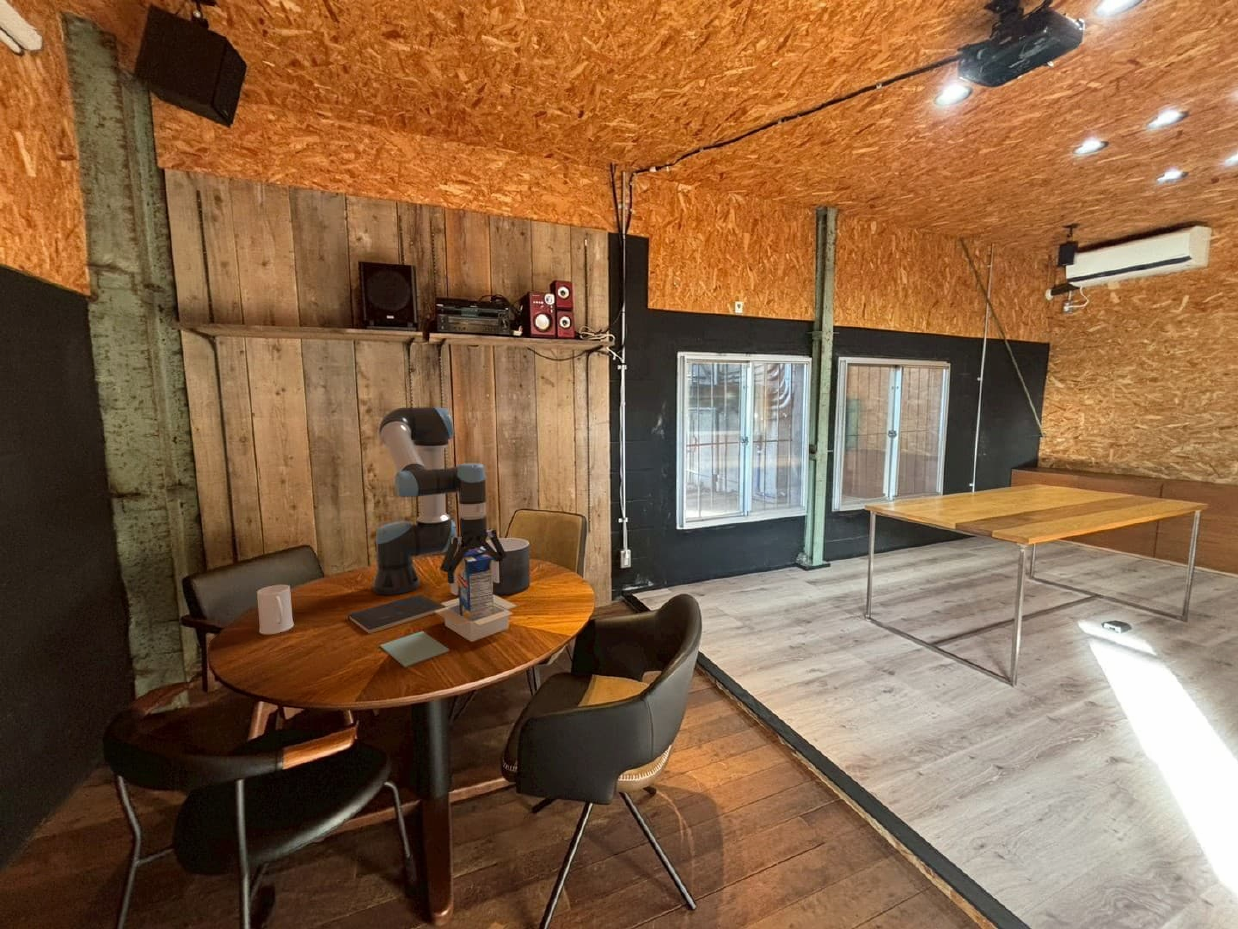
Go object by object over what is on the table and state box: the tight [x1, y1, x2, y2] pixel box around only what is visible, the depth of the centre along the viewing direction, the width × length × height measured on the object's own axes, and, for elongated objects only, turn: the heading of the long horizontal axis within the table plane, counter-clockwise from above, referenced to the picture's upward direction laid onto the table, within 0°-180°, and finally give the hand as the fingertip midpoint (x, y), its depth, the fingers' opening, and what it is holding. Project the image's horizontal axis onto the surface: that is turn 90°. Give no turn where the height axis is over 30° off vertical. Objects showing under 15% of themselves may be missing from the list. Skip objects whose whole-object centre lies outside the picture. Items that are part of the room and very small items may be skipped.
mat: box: [379, 630, 450, 668], centre depth 140 cm, size 16×12×1 cm
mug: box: [256, 584, 295, 635], centre depth 150 cm, size 12×8×12 cm
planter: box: [478, 537, 531, 596], centre depth 186 cm, size 18×18×16 cm
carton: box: [434, 595, 518, 643], centre depth 153 cm, size 22×19×6 cm
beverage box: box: [457, 548, 494, 622], centre depth 152 cm, size 7×11×22 cm, turn 33°
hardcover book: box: [347, 593, 444, 635], centre depth 162 cm, size 16×23×2 cm
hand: (475, 587), depth 152 cm, fingers open, 13 cm apart
